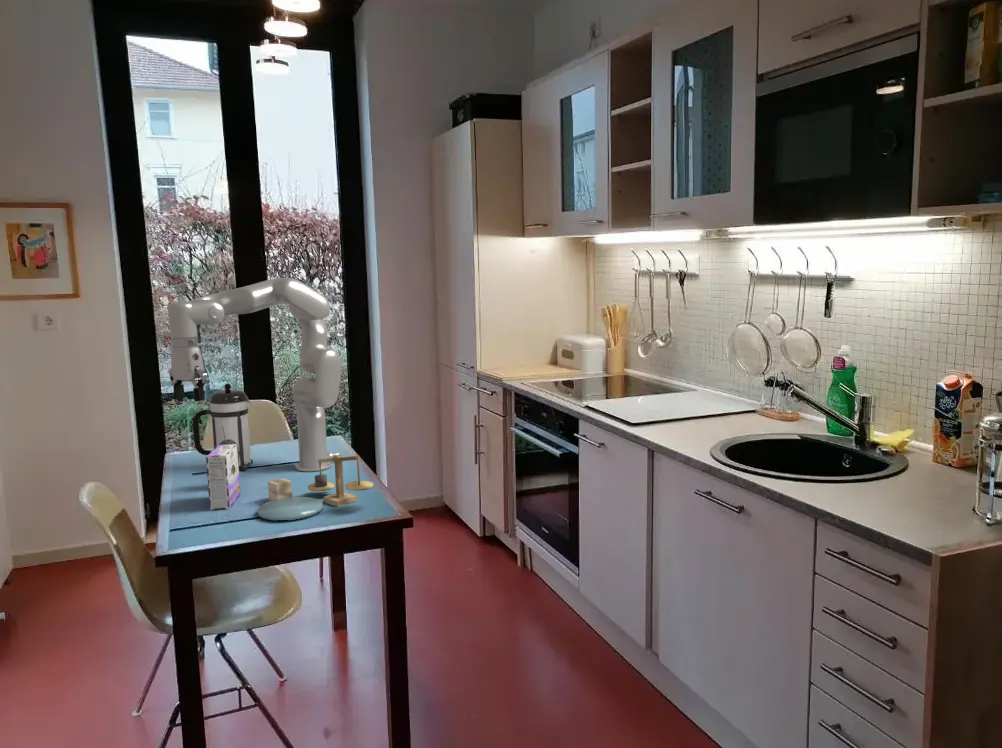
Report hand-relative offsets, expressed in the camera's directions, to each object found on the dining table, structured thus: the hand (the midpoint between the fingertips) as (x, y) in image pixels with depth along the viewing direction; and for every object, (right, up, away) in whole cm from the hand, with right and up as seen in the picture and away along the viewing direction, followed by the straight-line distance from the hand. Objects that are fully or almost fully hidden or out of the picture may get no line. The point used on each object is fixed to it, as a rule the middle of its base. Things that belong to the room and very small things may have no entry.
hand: (189, 399), depth 236 cm
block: (+28, -31, -1) cm, 41 cm away
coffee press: (-1, -26, +37) cm, 45 cm away
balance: (+46, -30, -3) cm, 56 cm away
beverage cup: (+8, -29, +14) cm, 33 cm away
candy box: (+12, -31, -2) cm, 33 cm away
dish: (+34, -32, -12) cm, 48 cm away
